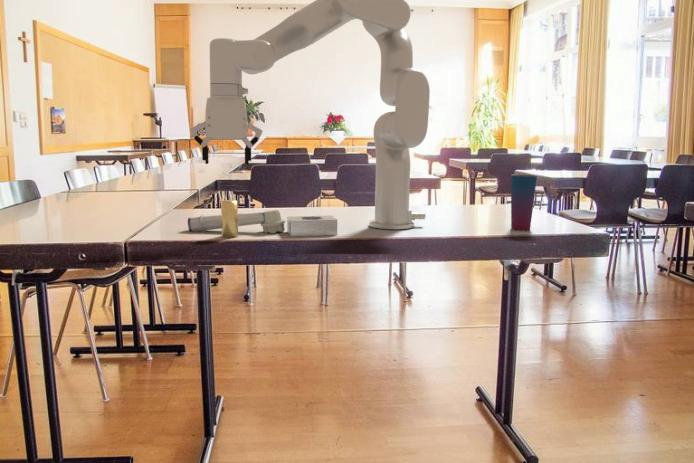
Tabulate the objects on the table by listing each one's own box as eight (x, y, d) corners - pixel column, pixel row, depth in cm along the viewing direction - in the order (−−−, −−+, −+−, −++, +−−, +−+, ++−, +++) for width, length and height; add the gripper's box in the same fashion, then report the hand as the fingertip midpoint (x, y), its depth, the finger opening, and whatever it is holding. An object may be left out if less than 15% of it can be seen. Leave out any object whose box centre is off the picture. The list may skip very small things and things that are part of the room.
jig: (331, 230, 159) (331, 215, 158) (337, 234, 152) (337, 219, 152) (287, 231, 156) (286, 216, 155) (291, 236, 149) (290, 220, 149)
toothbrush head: (191, 215, 158) (283, 203, 157) (195, 239, 159) (287, 228, 158) (185, 218, 153) (281, 206, 152) (190, 243, 154) (284, 231, 153)
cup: (523, 226, 168) (527, 173, 165) (538, 230, 162) (542, 176, 159) (503, 227, 166) (506, 174, 163) (517, 231, 159) (520, 176, 157)
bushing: (237, 234, 151) (236, 199, 150) (238, 237, 147) (237, 201, 146) (221, 235, 150) (220, 200, 149) (222, 238, 146) (221, 202, 145)
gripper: (260, 94, 148) (260, 163, 151) (189, 92, 144) (190, 162, 147) (263, 93, 141) (263, 165, 144) (188, 90, 137) (190, 164, 140)
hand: (226, 163), depth 145 cm, fingers open, 9 cm apart
